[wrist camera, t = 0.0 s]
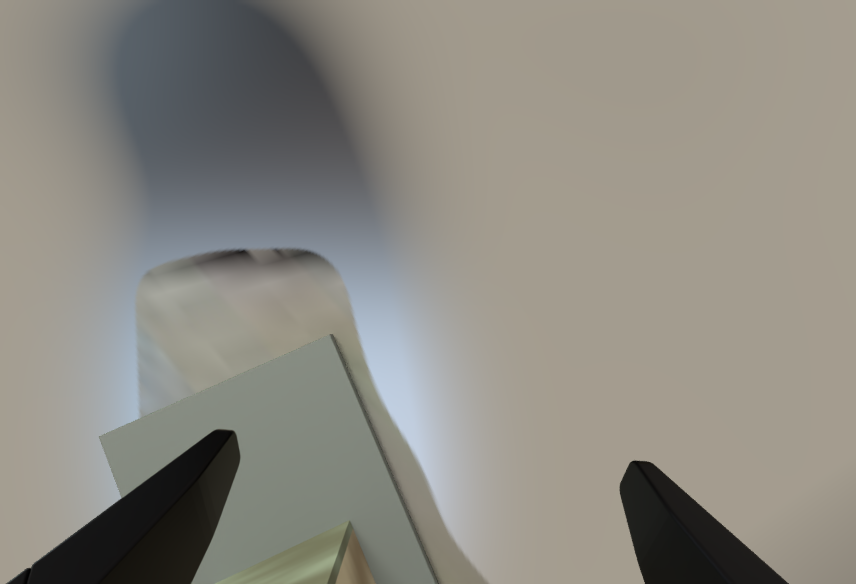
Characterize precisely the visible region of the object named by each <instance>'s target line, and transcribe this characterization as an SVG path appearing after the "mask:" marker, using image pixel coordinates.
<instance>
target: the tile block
mask: <svg viewBox="0 0 856 584" xmlns="http://www.w3.org/2000/svg"><path fill="white" fill-rule="evenodd" d="M215 584H376V583H375V581H374V578H373V576H372V573H371V571H370V568H369V566H368V564H367V561H366V559H365V556H364V554H363V551H362V549H361V547H360V544H359V542H358V539H357V537H356V535H355V532H354V530H353V527H352V525H351V522H350V520H348V521H346V522H344V523H342V524H340V525H338V526H336V527H334V528H332V529H329V530H327V531H325V532H323V533H321V534H319V535H317V536H315V537H313V538H310V539H308V540H306V541H304V542H302V543H300V544H298V545H296V546H294V547H291V548H289V549H287V550H285V551H283V552H281V553H279V554H277V555H275V556H272V557H270V558H268V559H266V560H264V561H262V562H260V563H258V564H256V565H253V566H251V567H249V568H247V569H245V570H243V571H241V572H239V573H236V574H234V575H232V576H230V577H228V578H226V579H224V580H222V581H220V582H217V583H215Z"/></svg>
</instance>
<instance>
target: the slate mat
mask: <svg viewBox="0 0 856 584" xmlns="http://www.w3.org/2000/svg"><path fill="white" fill-rule="evenodd" d="M216 429H227V430H234V431H235V432H236V435H237V439H238V444H239V449H240V456H241V458H240V464H239V467H238V470H237V473H236V476H235V479H234V481H233V484H232V487H231V490H230V492H229V495H228V498H227V501H226V504H225V506H224V509H223V512H222V515H221V517H220V520H219V523H218V526H217V528H216V531H215V533H214V536H213V538H212V541H211V543H210V545H209V547H208V549H207V551H206V554H205V556H204V558H203V560H202V562H201V564H200V566H199V568H198V570H197V573H196V575H195V577H194V579H193V581H192V583H191V584H215V583H217V582H220V581H222V580H224V579H226V578H228V577H230V576H232V575H234V574H236V573H239V572H241V571H243V570H245V569H247V568H249V567H251V566H253V565H256V564H258V563H260V562H262V561H264V560H266V559H268V558H270V557H272V556H275V555H277V554H279V553H281V552H283V551H285V550H287V549H289V548H291V547H294V546H296V545H298V544H300V543H302V542H304V541H306V540H308V539H310V538H313V537H315V536H317V535H319V534H321V533H323V532H325V531H327V530H329V529H332V528H334V527H336V526H338V525H340V524H342V523H344V522H346V521H348V520H350V522H351V525H352V527H353V530H354V532H355V535H356V537H357V539H358V542H359V544H360V547H361V549H362V551H363V554H364V556H365V559H366V561H367V564H368V566H369V568H370V571H371V573H372V576H373V578H374V581H375V583H376V584H438V581H437V579H436V577H435V574H434V572H433V570H432V567H431V565H430V562H429V560H428V558H427V555H426V553H425V551H424V548H423V546H422V544H421V541H420V539H419V537H418V534H417V532H416V529H415V527H414V525H413V522H412V520H411V518H410V515H409V513H408V511H407V508H406V506H405V504H404V501H403V499H402V497H401V494H400V492H399V489H398V487H397V485H396V482H395V480H394V478H393V475H392V473H391V471H390V468H389V466H388V464H387V461H386V459H385V457H384V454H383V452H382V449H381V447H380V445H379V442H378V440H377V438H376V435H375V433H374V431H373V428H372V426H371V424H370V421H369V419H368V417H367V414H366V412H365V409H364V407H363V405H362V402H361V400H360V398H359V395H358V393H357V391H356V388H355V386H354V384H353V381H352V379H351V377H350V374H349V372H348V369H347V367H346V365H345V362H344V360H343V358H342V355H341V353H340V351H339V348H338V346H337V344H336V341H335V339H334V337H333V334H331V335H328V336H325V337H323V338H321V339H319V340H316V341H314V342H312V343H310V344H307V345H305V346H303V347H301V348H298V349H296V350H294V351H291V352H289V353H287V354H285V355H282V356H280V357H278V358H276V359H273V360H271V361H269V362H267V363H264V364H262V365H260V366H257V367H255V368H253V369H251V370H248V371H246V372H244V373H242V374H239V375H237V376H235V377H233V378H230V379H228V380H226V381H224V382H221V383H219V384H217V385H214V386H212V387H210V388H208V389H205V390H203V391H201V392H199V393H196V394H194V395H192V396H190V397H187V398H185V399H183V400H181V401H178V402H176V403H174V404H171V405H169V406H167V407H165V408H162V409H160V410H158V411H156V412H153V413H151V414H149V415H147V416H144V417H142V418H140V419H137V420H135V421H133V422H131V423H128V424H126V425H124V426H122V427H119V428H117V429H115V430H113V431H111V432H108V433H106V434H104V435H102V436H99V439H100V441H101V444H102V447H103V449H104V452H105V454H106V457H107V460H108V463H109V465H110V468H111V471H112V473H113V476H114V479H115V481H116V484H117V487H118V489H119V492H120V495H121V498H123V497H124V496H125V495H127V494H128V493H130V492H131V491H132V490H134V489H135V488H136V487H138V486H139V485H140V484H142V483H143V482H144V481H146V480H147V479H148V478H150V477H151V476H152V475H154V474H155V473H157V472H158V471H159V470H161V469H162V468H163V467H165V466H166V465H167V464H169V463H170V462H171V461H173V460H174V459H175V458H177V457H178V456H179V455H181V454H182V453H184V452H185V451H186V450H188V449H189V448H190V447H192V446H193V445H194V444H196V443H197V442H198V441H200V440H201V439H202V438H204V437H205V436H206V435H208V434H209V433H211V432H212V431H214V430H216Z"/></svg>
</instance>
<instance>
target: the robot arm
mask: <svg viewBox="0 0 856 584" xmlns="http://www.w3.org/2000/svg"><path fill="white" fill-rule="evenodd" d="M240 458H241V456H240V449H239V444H238V439H237V435H236V432H235V431H234V430H227V429H216V430H214V431H212V432H211V433H209V434H208V435H206V436H205V437H204V438H202V439H201V440H200V441H198V442H197V443H196V444H194V445H193V446H192V447H190V448H189V449H188V450H186V451H185V452H184V453H182V454H181V455H179V456H178V457H177V458H175V459H174V460H173V461H171V462H170V463H169V464H167V465H166V466H165V467H163V468H162V469H161V470H159V471H158V472H157V473H155V474H154V475H152V476H151V477H150V478H148V479H147V480H146V481H144V482H143V483H142V484H140V485H139V486H138V487H136V488H135V489H134V490H132V491H131V492H130V493H128V494H127V495H125V496H124V497H123V498H121V499H120V500H119V501H117V502H116V503H115V504H113V505H112V506H111V507H109V508H108V509H107V510H105V511H104V512H102V513H101V514H100V515H99V516H97V517H96V518H94V519H93V520H92V521H90V522H89V523H88V524H86V525H85V526H84V527H82V528H81V529H80V530H78V531H77V532H75V533H74V534H73V535H71V536H70V537H69V538H67V539H66V540H65V541H63V542H62V543H61V544H59V545H58V546H57V547H55V548H54V549H53V550H51V551H50V552H48V553H47V554H46V555H45V556H43V557H42V558H41V559H39V560H38V561H36V562H35V563H34V564H33V565H32V567H31V568H27V569H25V570H24V571H23V572H21V573H20V574H19V575H17V576H16V577H14V578H13V579H12V580H10V581H9V582H8V583H6V584H191V583H192V581H193V579H194V577H195V575H196V573H197V570H198V568H199V566H200V564H201V562H202V560H203V558H204V556H205V554H206V551H207V549H208V547H209V545H210V543H211V541H212V538H213V536H214V533H215V531H216V528H217V526H218V523H219V520H220V517H221V515H222V512H223V509H224V506H225V504H226V501H227V498H228V495H229V492H230V490H231V487H232V484H233V481H234V479H235V476H236V473H237V470H238V467H239V464H240ZM620 495H621V499H622V503H623V507H624V511H625V515H626V518H627V522H628V526H629V530H630V534H631V538H632V542H633V546H634V550H635V554H636V557H637V561H638V564H639V567H640V570H641V573H642V576H643V579H644V582H645V584H789V583H787V582H786V581H785V580H784V579H783V578H782V577H781V576H780V575H778V574H777V573H776V572H775V571H774V570H773V569H772V568H770V567H769V566H768V565H767V564H766V563H765V562H764V561H762V560H761V559H760V558H759V557H758V556H757V555H756V554H755V553H754V552H752V551H751V550H750V549H749V548H748V547H747V546H746V545H744V544H743V543H742V542H741V541H740V540H739V539H738V538H736V537H735V536H734V535H733V534H732V533H731V532H729V530H727V529H726V528H725V527H724V526H723V525H722V524H721V523H719V522H718V521H717V520H716V519H715V518H714V517H713V516H712V515H710V514H709V513H708V512H707V511H706V510H705V509H704V508H702V506H700V505H699V504H698V503H697V502H696V501H695V500H694V499H692V498H691V497H690V496H689V495H688V494H687V493H685V492H684V491H683V490H682V489H681V488H680V487H679V486H678V485H677V484H675V483H674V482H673V481H672V480H671V479H670V478H669V477H667V476H666V475H665V474H664V473H663V472H662V471H661V470H660V469H659V468H657V467H656V466H655V465H654V464H652V463H651V462H647V461H632V462H630V464H629V466H628V468H627V470H626V472H625V474H624V476H623V479H622V481H621V483H620Z"/></svg>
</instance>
